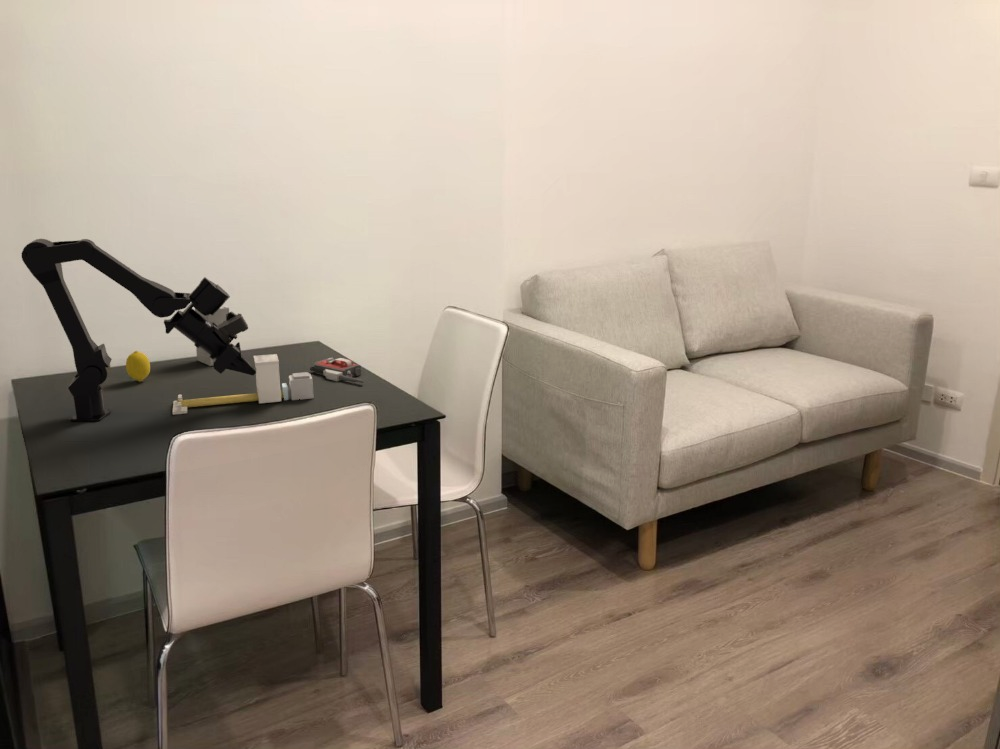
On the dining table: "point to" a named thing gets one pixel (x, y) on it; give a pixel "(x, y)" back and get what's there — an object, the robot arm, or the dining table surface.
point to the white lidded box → (267, 378)
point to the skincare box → (218, 319)
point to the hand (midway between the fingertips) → (254, 373)
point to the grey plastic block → (298, 387)
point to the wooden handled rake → (212, 401)
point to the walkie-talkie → (338, 369)
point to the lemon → (138, 366)
